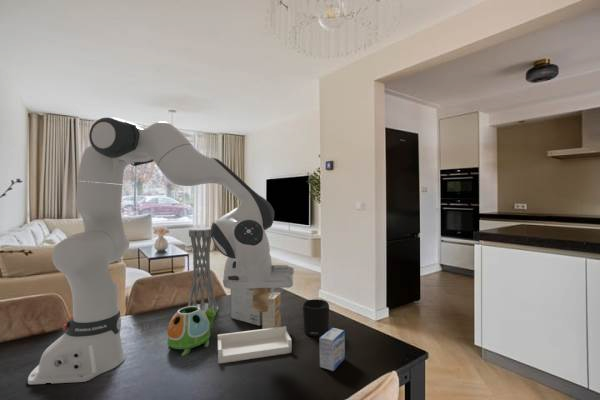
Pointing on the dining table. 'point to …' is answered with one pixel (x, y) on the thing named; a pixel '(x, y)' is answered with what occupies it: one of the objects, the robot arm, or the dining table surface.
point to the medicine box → (332, 349)
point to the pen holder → (316, 317)
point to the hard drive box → (244, 307)
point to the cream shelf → (253, 344)
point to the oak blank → (260, 300)
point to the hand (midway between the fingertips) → (261, 290)
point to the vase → (206, 235)
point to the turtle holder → (190, 328)
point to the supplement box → (273, 311)
